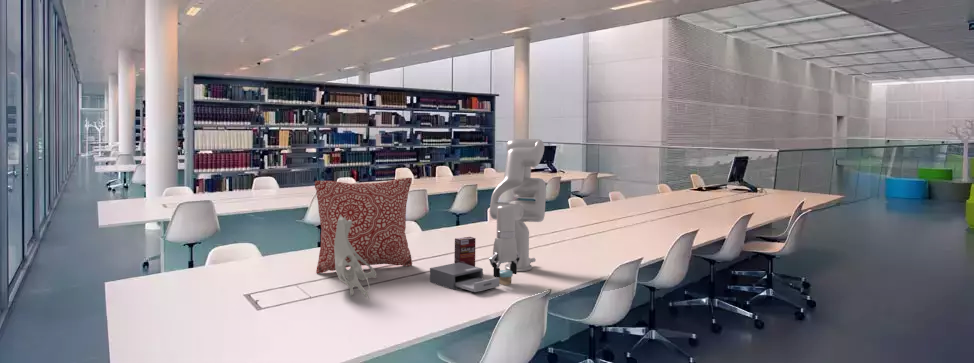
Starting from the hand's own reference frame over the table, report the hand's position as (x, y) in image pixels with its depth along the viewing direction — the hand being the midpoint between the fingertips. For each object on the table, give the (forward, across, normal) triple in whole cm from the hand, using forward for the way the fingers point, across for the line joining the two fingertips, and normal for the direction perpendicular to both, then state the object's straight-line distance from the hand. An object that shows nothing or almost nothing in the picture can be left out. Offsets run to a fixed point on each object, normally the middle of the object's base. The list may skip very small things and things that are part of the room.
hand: (505, 275), depth 242 cm
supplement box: (+4, 0, -25) cm, 26 cm away
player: (+4, +14, -14) cm, 20 cm away
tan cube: (+4, 0, 0) cm, 4 cm away
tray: (+3, +14, -3) cm, 14 cm away
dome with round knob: (0, 0, 0) cm, 1 cm away
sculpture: (+4, +51, -32) cm, 60 cm away
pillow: (+4, +31, -60) cm, 68 cm away
